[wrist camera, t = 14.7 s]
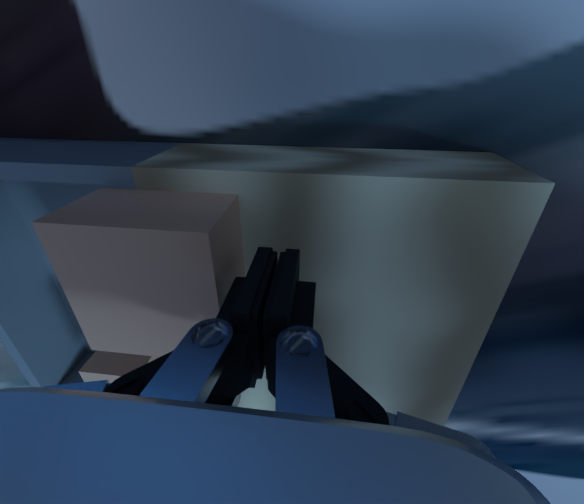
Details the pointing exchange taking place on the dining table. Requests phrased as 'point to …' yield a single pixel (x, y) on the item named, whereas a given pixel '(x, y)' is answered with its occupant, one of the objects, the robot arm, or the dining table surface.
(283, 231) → the pale green square panel
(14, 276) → the tray
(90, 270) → the tile
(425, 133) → the dining table surface
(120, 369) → the tile
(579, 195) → the dining table surface
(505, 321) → the dining table surface
